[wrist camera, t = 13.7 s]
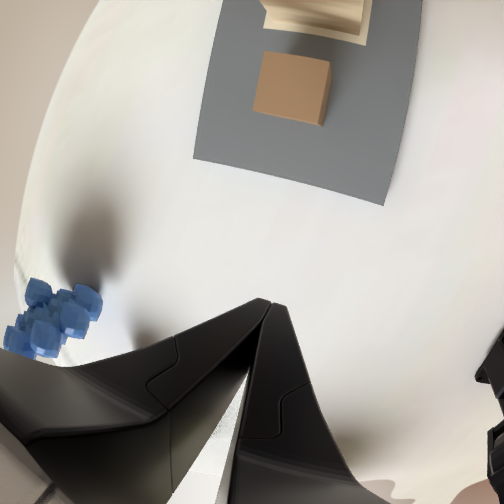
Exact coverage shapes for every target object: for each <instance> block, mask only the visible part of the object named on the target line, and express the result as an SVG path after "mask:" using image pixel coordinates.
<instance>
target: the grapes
mask: <svg viewBox="0 0 504 504" xmlns="http://www.w3.org/2000/svg"><path fill="white" fill-rule="evenodd" d="M25 301H26V303H27V305H28V306H29V308H28V310H27V311H24V315H23V314H18V317H17V319H16V323H15V327H13V326H7V329H6V332H5V336H4V342H3V345H4V349H5V350H8V351H10V352H13V353H16V354H19V355H22V356H24V357H27V358H30V359H33V360H36V356H37V355H40V356H43V357H48V358H57V357H58V354H59V351H60V348H61V344H64V345H65V343H66V340H67V337H68V336H69V337H72V338H77V339H84V338H85V335H86V333H87V330H88V328H89V322H90V321H97V320H98V318H99V316H100V313H101V311H102V305H103V300H102V298H101V295H99V294H98V293H96V291H95V290H94V289H92V288H91V287H89V286H86V285H82V284H78V283H77V284H76V286H75V288H74V291H73V292H72V291H69V290H65V289H60V290H59V291H57V294H53V293H52V288H51V286H50V285H49V284H48V283H46V282H44V281H42V280H39V279H35V278H30V281H29V283H28V286H27V289H26V293H25Z"/></svg>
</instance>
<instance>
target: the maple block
mask: <svg viewBox="0 0 504 504" xmlns="http://www.w3.org/2000/svg"><path fill="white" fill-rule="evenodd" d="M259 1H260V2H261V4H262V5H263V6H264V8H265V9H266V11H267V12H268V13H269V15H270V16H271V18H272V19H273V21H277V22H286V23H294V24H301V25H307V26H313V27H319V28H325V29H330V30H335V31H340V32H344V33H349V34H353V35H357V36H359V34H360V28H361V22H362V15H363V9H364V2H365V0H259Z"/></svg>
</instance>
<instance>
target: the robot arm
mask: <svg viewBox="0 0 504 504" xmlns="http://www.w3.org/2000/svg"><path fill="white" fill-rule="evenodd" d="M248 371H249V372H248ZM247 373H248V376H247V380H246V384H245V388H244V392H243V396H242V400H241V404H240V408H239V412H238V416H237V420H236V424H235V428H234V432H233V436H232V440H231V444H230V448H229V452H228V456H227V460H226V464H225V467H224V471H223V475H222V479H221V483H220V486H219V490H218V494H217V498H216V501H215V504H390V503H389V502H387V501H385V500H384V499H382V498H380V497H378V496H377V495H375V494H373V493H372V492H370V491H369V490H367V489H366V488H364V487H363V486H362V485H361V484H360V483H359V482H358V481H357V480H356V479H355V477H354V476H353V475H352V473H351V471H350V470H349V468H348V466H347V464H346V462H345V460H344V458H343V456H342V454H341V452H340V450H339V448H338V446H337V444H336V442H335V440H334V438H333V436H332V434H331V432H330V430H329V428H328V425H327V423H326V421H325V419H324V417H323V414H322V412H321V410H320V407H319V404H318V402H317V399H316V396H315V393H314V390H313V386H312V384H311V381H310V377H309V374H308V371H307V368H306V365H305V362H304V359H303V355H302V352H301V349H300V346H299V343H298V340H297V337H296V334H295V331H294V327H293V324H292V321H291V318H290V315H289V312H288V309H287V307H286V306H285V305H281V304H278V303H271V302H270V301H268V300H265V299H262V298H256V299H254V300H252V301H250V302H247V303H245V304H243V305H241V306H239V307H237V308H234V309H232V310H230V311H228V312H226V313H223V314H221V315H219V316H217V317H215V318H212V319H210V320H208V321H206V322H203V323H201V324H199V325H197V326H194V327H192V328H190V329H188V330H185V331H183V332H181V333H178V334H176V335H174V337H173V336H171V337H169V338H166V339H164V340H162V341H159V342H157V343H154V344H152V345H149V346H146V347H144V348H140V349H137V350H134V351H131V352H128V353H125V354H121V355H117V356H114V357H110V358H107V359H103V360H99V361H96V362H92V363H88V364H84V365H80V366H74V367H59V366H53V365H49V364H46V363H43V362H40V361H36V360H33V359H30V358H27V357H24V356H22V355H19V354H16V353H13V352H10V351H8V350H5V349H2V348H0V504H166V503H167V502H168V500H169V499H170V497H171V496H172V493H174V491H175V490H176V488H177V487H178V485H179V484H180V482H181V481H182V479H183V478H184V476H185V475H186V473H187V472H188V470H189V469H190V467H191V466H192V464H193V463H194V461H195V460H196V458H197V456H198V455H199V453H200V452H201V450H202V449H203V447H204V445H205V444H206V442H207V441H208V439H209V437H210V436H211V434H212V433H213V431H214V429H215V428H216V426H217V424H218V423H219V421H220V420H221V418H222V416H223V415H224V413H225V411H226V410H227V408H228V406H229V405H230V403H231V401H232V400H233V398H234V396H235V395H236V393H237V391H238V389H239V388H240V386H241V384H242V383H243V381H244V379H245V377H246V375H247ZM475 380H476V382H480V383H486V384H491V387H492V389H493V392H494V395H495V397H496V399H498V401H499V404H500V407H501V410H502V413H503V416H504V331H503V332H502V334H501V336H500V337H499V339H498V341H497V342H496V344H495V346H494V347H493V349H492V350H491V352H490V354H489V355H488V357H487V358H486V360H485V361H484V363H483V364H482V366H481V367H480V369H479V370H478V371H477V373H476V374H475ZM487 435H488V441H487V442H488V464H487V477H488V479H489V482H490V484H491V485H492V487H493V489H494V491H495V492H496V493H497V494H498V497H499V502H500V504H504V420H503V421H501V422H500V423H499V424H498V425H497V426H495V427H493V428H491V429H490V430H489V431H488V432H487Z"/></svg>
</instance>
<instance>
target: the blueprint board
mask: <svg viewBox="0 0 504 504" xmlns="http://www.w3.org/2000/svg"><path fill="white" fill-rule="evenodd" d="M421 9H422V0H365V2H364V9H363V15H362V22H361V28H360V34H359V36H357V35H353V34H349V33H344V32H340V31H335V30H330V29H325V28H319V27H313V26H307V25H301V24H294V23H286V22H277V21H273V19H272V18H271V16H270V15H269V13H268V12H267V11H266V9H265V8H264V6H263V5H262V4H261V2H260V1H259V0H223V4H222V8H221V12H220V16H219V20H218V25H217V29H216V33H215V38H214V43H213V47H212V52H211V57H210V62H209V67H208V72H207V77H206V82H205V88H204V93H203V99H202V104H201V110H200V116H199V122H198V128H197V135H196V141H195V148H194V155H193V159H198V160H203V161H208V162H213V163H218V164H223V165H228V166H233V167H237V168H242V169H246V170H251V171H255V172H260V173H264V174H268V175H273V176H277V177H281V178H285V179H289V180H293V181H297V182H301V183H305V184H309V185H312V186H316V187H320V188H324V189H327V190H331V191H335V192H338V193H342V194H345V195H349V196H352V197H356V198H359V199H362V200H366V201H369V202H372V203H375V204H379V205H382V206H384V202H385V199H386V195H387V192H388V188H389V184H390V181H391V177H392V173H393V169H394V166H395V162H396V158H397V154H398V149H399V145H400V141H401V137H402V132H403V128H404V123H405V118H406V113H407V108H408V103H409V98H410V92H411V87H412V81H413V75H414V69H415V62H416V55H417V47H418V39H419V30H420V21H421Z"/></svg>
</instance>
